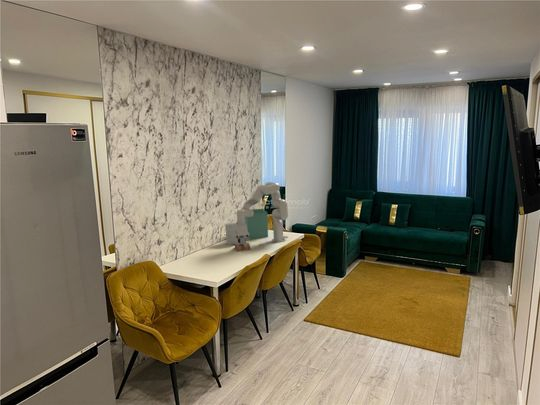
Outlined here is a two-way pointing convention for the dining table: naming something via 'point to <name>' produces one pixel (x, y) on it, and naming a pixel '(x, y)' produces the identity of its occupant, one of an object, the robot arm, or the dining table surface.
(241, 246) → the tray
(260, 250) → the dining table surface
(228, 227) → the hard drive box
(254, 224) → the box
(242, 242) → the block
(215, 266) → the dining table surface
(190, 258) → the dining table surface
